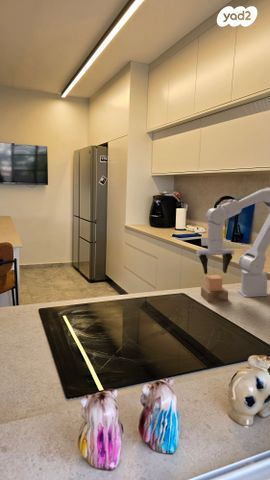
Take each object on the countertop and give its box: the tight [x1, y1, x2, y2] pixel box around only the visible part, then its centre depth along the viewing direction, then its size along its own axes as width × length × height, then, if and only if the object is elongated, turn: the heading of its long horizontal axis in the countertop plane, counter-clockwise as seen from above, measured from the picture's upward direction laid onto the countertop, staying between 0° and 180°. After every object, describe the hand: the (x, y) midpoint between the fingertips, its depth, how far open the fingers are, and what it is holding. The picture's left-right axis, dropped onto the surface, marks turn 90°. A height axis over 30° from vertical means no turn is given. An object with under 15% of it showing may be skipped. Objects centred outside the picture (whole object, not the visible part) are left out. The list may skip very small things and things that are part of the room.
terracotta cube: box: [205, 274, 223, 291], centre depth 130 cm, size 5×5×5 cm
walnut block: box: [200, 285, 229, 303], centre depth 130 cm, size 8×8×4 cm
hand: (215, 272), depth 130 cm, fingers open, 7 cm apart
